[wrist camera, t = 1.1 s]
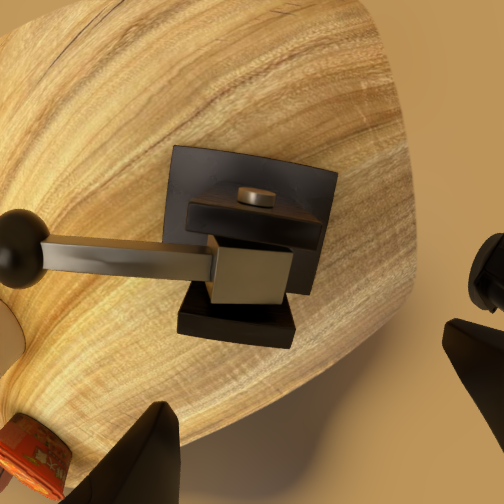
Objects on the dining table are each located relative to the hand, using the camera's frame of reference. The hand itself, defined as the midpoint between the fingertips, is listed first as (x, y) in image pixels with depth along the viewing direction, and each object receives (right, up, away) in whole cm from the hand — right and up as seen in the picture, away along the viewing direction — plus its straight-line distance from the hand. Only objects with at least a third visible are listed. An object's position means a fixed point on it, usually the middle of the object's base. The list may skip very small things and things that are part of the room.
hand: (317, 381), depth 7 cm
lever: (-7, +4, +4) cm, 9 cm away
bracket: (-2, +6, +13) cm, 14 cm away
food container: (-39, -29, +23) cm, 54 cm away
